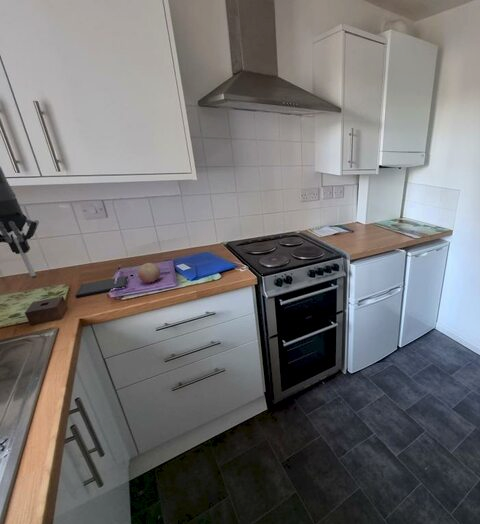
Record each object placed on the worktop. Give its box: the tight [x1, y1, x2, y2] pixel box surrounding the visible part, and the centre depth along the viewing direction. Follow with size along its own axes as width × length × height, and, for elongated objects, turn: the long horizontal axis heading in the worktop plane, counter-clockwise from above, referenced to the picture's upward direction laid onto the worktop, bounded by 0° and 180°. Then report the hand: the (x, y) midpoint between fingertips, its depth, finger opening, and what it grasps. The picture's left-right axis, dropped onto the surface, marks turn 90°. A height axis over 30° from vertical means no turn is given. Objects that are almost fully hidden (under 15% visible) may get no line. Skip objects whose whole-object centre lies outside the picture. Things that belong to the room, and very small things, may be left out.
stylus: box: [13, 236, 37, 279], centre depth 97 cm, size 1×1×14 cm
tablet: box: [75, 275, 129, 299], centre depth 124 cm, size 16×11×1 cm
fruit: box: [137, 262, 161, 284], centre depth 128 cm, size 8×8×8 cm
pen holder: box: [24, 295, 69, 326], centre depth 104 cm, size 8×8×5 cm
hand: (22, 252), depth 96 cm, fingers closed on stylus, 1 cm apart
